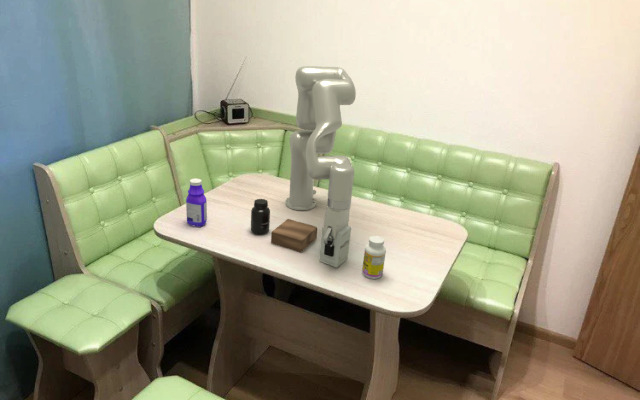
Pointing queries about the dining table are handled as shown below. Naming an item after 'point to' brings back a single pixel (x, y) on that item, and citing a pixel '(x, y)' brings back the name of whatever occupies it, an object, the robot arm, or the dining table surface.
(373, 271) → the supplement bottle
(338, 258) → the supplement box
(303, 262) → the dining table surface
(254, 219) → the supplement bottle
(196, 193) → the bottle
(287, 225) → the walnut block
